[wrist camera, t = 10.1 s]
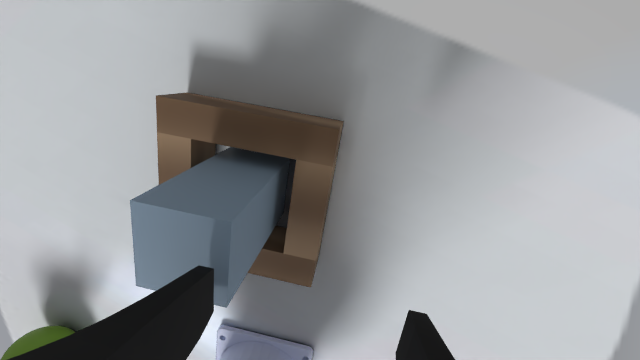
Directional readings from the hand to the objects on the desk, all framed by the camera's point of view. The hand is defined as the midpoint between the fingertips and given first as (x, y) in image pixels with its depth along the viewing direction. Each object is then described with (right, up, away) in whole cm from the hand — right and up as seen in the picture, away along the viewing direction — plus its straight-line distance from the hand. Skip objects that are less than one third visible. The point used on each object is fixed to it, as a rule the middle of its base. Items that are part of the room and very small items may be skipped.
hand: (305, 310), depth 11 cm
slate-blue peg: (-4, +5, +9) cm, 11 cm away
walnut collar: (-4, +5, +9) cm, 11 cm away
